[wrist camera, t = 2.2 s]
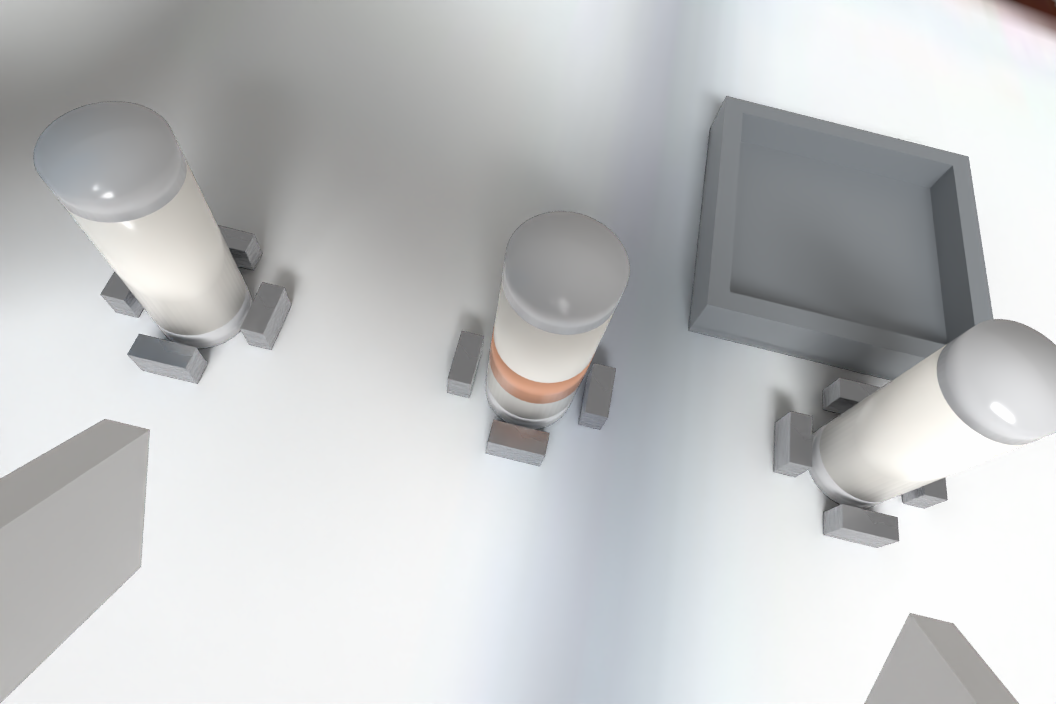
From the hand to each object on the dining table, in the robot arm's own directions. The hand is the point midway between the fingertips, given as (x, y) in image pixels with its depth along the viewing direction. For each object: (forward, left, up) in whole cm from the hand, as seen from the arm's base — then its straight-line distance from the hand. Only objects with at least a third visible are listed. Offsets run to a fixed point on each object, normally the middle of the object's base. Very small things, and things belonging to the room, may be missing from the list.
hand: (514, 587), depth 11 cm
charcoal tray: (+14, +23, -15) cm, 31 cm away
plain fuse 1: (-15, +11, -15) cm, 24 cm away
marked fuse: (0, +11, -15) cm, 19 cm away
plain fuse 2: (+15, +11, -15) cm, 24 cm away
